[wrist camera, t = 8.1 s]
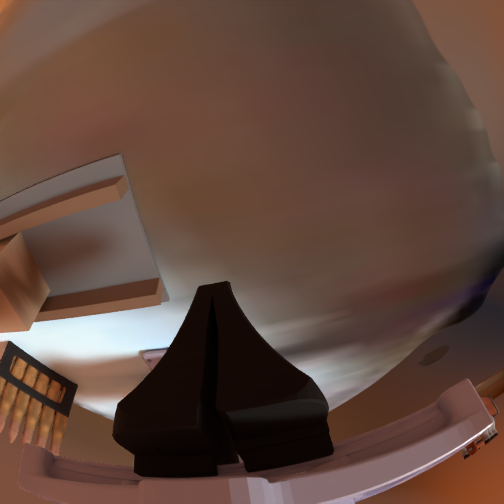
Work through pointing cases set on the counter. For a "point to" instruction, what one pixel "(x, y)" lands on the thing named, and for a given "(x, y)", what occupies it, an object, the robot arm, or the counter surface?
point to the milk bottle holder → (487, 434)
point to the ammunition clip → (34, 398)
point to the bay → (86, 241)
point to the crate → (19, 285)
